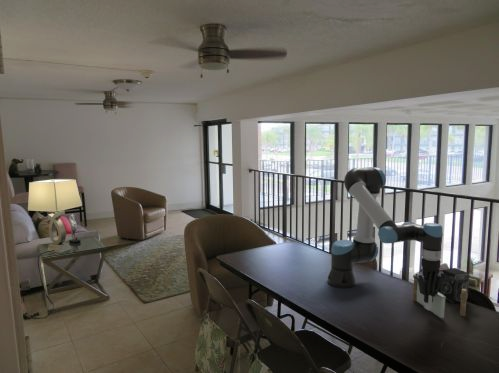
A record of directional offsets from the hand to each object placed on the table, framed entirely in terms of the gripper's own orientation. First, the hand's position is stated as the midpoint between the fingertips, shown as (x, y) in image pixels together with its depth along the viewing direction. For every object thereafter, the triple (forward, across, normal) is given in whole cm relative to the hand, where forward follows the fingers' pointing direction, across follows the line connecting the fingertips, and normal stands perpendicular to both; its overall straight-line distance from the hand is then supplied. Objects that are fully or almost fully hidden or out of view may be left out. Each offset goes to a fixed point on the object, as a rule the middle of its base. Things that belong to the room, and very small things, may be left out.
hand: (427, 309), depth 157 cm
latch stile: (+4, +16, -2) cm, 17 cm away
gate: (+3, +5, +4) cm, 7 cm away
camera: (+4, +24, +11) cm, 27 cm away
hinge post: (+4, +5, +15) cm, 16 cm away
